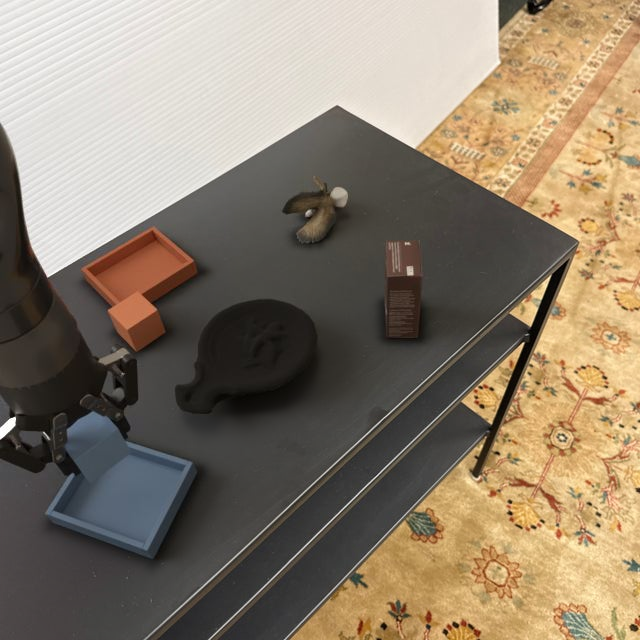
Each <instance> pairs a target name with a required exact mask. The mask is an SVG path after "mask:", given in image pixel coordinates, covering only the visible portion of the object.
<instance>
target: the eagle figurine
mask: <svg viewBox="0 0 640 640" xmlns="http://www.w3.org/2000/svg"><path fill="white" fill-rule="evenodd" d="M313 181H314V183H315V184H316V185H317V187H318V188H319V190H317V191H313V190H312V191H300V192H298V193H296V194H294V195H293V196H291V197H290V198H288V199H287V201H285V203H284V204H283V206H282V209H281V212H282V214H284V215H285V216H286V215H291V214H299V213H301V214H302V213H304V212H305V216H304V218H310V217H311V218H310V219H309V220H308V221H307V222H306V224H305V225H304V226H303V227H301V228H300V229H299V230H298V231H297V232H296V233H295V234H296V239H298V242H299V243H301V244H311V243H313V244H314V243H316V242H320V241H322V239H324V238H325V237H326V236H327V233H328V232H329V231H330V229H331V227H333V225H334V224H335V223H336V221H337V218H338V216H337V213H336V210H335V207H336V208H344V207H346V205H347V203H348V200H349V192H347V190H346V189H345V188H343V187H341V186H334V188H333V189H332V190H331V191H328V184H327V182H326V181H324V182H322V183H321V182H320V181H319V179H318V177H317V176H316V175H313Z"/></svg>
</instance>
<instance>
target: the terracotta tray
mask: <svg viewBox="0 0 640 640" xmlns="http://www.w3.org/2000/svg"><path fill="white" fill-rule="evenodd" d="M80 270H81V272H82V274H83V277H84V278H85V281H86V282H87V283H88V284H89V285H90V286H91V287H92V288H93V290H95V291H96V292H97V293H98V294H99V295H100V296H101V297H102V299H104V300H105V301H106V302H107V303H108V304H109V305H110V306H111V308H112V307H114V306H115V305H117V304H118V303H120V302H121V301H123V300H125V299H126V298H128V297H129V296H131V295H133V294H134V293H136V292H137V291H138V292H139V293H140V294H141V295H142V296H143V297H144V298H146V299H147V300H148V301H149V302H150V303H151V304H152V303H153V302H155V301H156V300H158V299H160V298H162V296H164V295H166V294H167V293H169V292H171V291H172V290H174V289H175V288H177V287H178V286H180V285H181V284H183V283H184V282H187V281H188V280H189V279H191V278H192V277H194V276H195V275H197V274H198V272H199V271H198V269H197V266H196V262H195V260H194V259H193V258H191V257H190V256H189V255H188V254H187V253H186V252H185V251H184V250H182V249H181V248H180V247H179V246H178V245H176V244H175V243H174V242H173V241H171V239H169V238H168V237H167V236H165V235H164V233H163V232H161V231H160V230H158V229H157V228H156V227H155V226H152V227H150V228H148V229H146V230H144V231H143V232H141V233H139V234H138V235H137V236H135V237H133V238H131V239H129V240H128V241H126V242H124V243H123V244H121V245H119V246H118V247H116V248H114V249H113V250H111V251H109V252H107V253H106V254H104V255H102V256H101V257H98V258H97V259H95V260H94V261H92V262H90V263H89V264H87V265H85V266H83V267H82V268H80Z"/></svg>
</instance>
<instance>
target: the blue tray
mask: <svg viewBox="0 0 640 640" xmlns="http://www.w3.org/2000/svg"><path fill="white" fill-rule="evenodd" d="M125 442H126V443H127V445H128V447H129V449H130V451H131V453H130V454H129V455H128V456H126V457H125V458H124V459H122V460H121V461H120V462H118V463H117V464H116V465H114V466H113V467H112V468H110V469H109V470H108V471H106V472H105V473H104V474H102V475H101V476H100V477H98V478H97V479H96V480H94V481H93V482H92V483H90V482H89V481H88V480H87V478H86V477H85V476H84V475H83V473H80V474H79V475H78V476H75V475H74V474H73V473H72V474H71V475H69V476H67V478H66V480H65V481H64V483H63V485H62V486H61V488H60V489H59V491H58V493H57V494H56V495H55V497H54V498H53V500H52V502H51V504H50V505H49V506H48V508H47V510H46V511H45V512H44V514H45V515H46V517H47V518H48V519H49V520H50V521H51V522H52V523H53V524H55V525H58V526H61V527H64V528H66V529H68V530H72V531H74V532H77V533H80V534H83V535H85V536H89V537H91V538H93V539H96V540H99V541H102V542H104V543H108V544H110V545H112V546H115V547H118V548H121V549H124V550H127V551H130V552H132V553H134V554H138V555H140V556H143V557H146V558H149V559H151V560H154V559H155V556H156V555H157V553H158V551H159V549H160V547H161V545H162V543H163V541H164V539H165V537H166V535H167V533H168V531H169V529H170V527H171V525H172V523H173V521H174V519H175V517H176V515H177V514H178V511H179V509H180V507H181V505H182V503H183V501H184V500H185V498H186V495H187V493H188V491H189V490H190V488H191V485H192V484H193V482H194V480H195V478H196V476H197V474H198V471H197V468H196V467H195V464H194V462H193V461H190V460H187V459H184V458H181V457H178V456H174V455H172V454H168V453H165V452H162V451H159V450H155V449H153V448H149V447H146V446H143V445H140V444H138V443H137V444H136V443H134V442H130V441H126V440H125Z"/></svg>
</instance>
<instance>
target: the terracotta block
mask: <svg viewBox="0 0 640 640" xmlns="http://www.w3.org/2000/svg"><path fill="white" fill-rule="evenodd" d="M107 312H108V314H109V317H110V319H111V321H112V324H113V325H114V328H115V330H116V332H117V334H118V335H119V336H120V337H121V338H122V339H123V340H124V341H125V342H126V343H127V344H128V345H129V346H130V347H131V348H132V349H133V350H134V351H135V352H136V353H137V352H139V351H141V350H142V349H143V348H145V347H146V346H147V345H149V344H151V343H152V342H154V341H155V340H156V339H158V338H159V337H161V336H162V335H164V334H165V333H166V330H165V326H164V323H163V321H162V318H161V315H160V313H159V310H158V309H157V308H156V307H155V305H153V304H152V303H150V302H149V301H148V300H147V299H146V298H144V297H143V296H142V295H141V294H140V293H139V292H138V291H137V292H136V293H134V294H133V295H131V296H129V297H128V298H126V299H125V300H123V301H121V302H120V303H118V304H117V305H115V306H114V307H112V306H111V307H110V308H109V309H108V310H107Z"/></svg>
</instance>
